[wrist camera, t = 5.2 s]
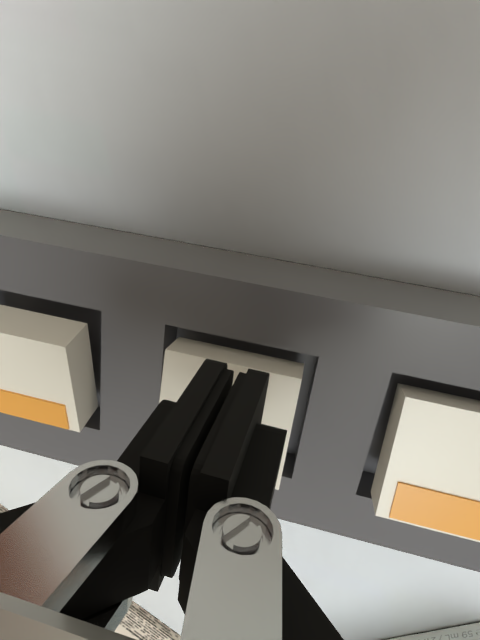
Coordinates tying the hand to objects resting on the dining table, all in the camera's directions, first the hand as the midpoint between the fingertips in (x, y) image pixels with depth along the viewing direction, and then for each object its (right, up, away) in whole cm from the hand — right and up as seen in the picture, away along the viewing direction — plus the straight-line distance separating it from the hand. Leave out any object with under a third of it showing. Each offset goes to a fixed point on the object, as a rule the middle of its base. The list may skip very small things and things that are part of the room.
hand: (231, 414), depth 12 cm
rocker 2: (+7, -2, +3) cm, 8 cm away
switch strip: (+3, 0, +7) cm, 7 cm away
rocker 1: (-7, +1, +5) cm, 9 cm away
